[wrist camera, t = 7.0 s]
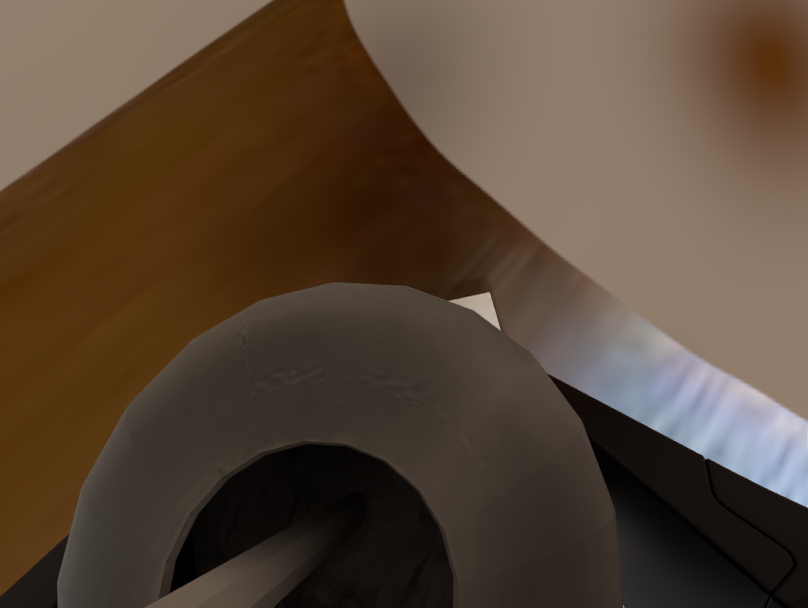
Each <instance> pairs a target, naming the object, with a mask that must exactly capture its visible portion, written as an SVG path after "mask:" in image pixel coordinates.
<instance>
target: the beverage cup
mask: <svg viewBox="0 0 808 608" xmlns="http://www.w3.org/2000/svg"><path fill="white" fill-rule="evenodd" d="M57 594H58V608H623V602H622V589H621V577H620V565H619V552H618V540H617V527H616V515H615V508H614V506H613V503H612V500H611V498H610V495H609V492H608V489H607V487H606V484H605V481H604V479H603V476H602V473H601V471H600V468H599V465H598V463H597V460H596V457H595V455H594V452H593V449H592V447H591V444H590V441H589V439H588V436H587V433H586V431H585V428H584V425H583V423H582V421H581V419H580V418H579V416H578V415H577V414H576V412H575V411H574V410H573V408H572V407H571V405H570V404H569V403H568V401H567V400H566V399H565V397H564V396H563V395H562V393H561V392H560V391H559V389H558V388H557V387H556V385H555V384H554V383H553V381H552V380H551V379H550V377H549V376H548V374H547V373H546V372H545V370H544V369H543V368H542V366H541V365H540V364H539V362H538V361H537V360H536V358H535V357H534V356H533V355H532V354H531V353H530V352H528V351H527V350H526V349H524V348H523V347H522V346H520V345H519V344H518V343H516V342H515V341H514V340H512V339H511V338H510V337H508V336H507V335H506V334H504V333H503V332H502V331H501V330H499V329H498V328H497V327H495V326H494V325H493V324H491V323H490V322H489V321H487V320H486V319H485V318H483V317H482V316H481V315H479V314H478V313H477V312H475V311H474V310H472V309H469V308H466V307H463V306H461V305H458V304H455V303H452V302H450V301H447V300H444V299H441V298H439V297H436V296H433V295H430V294H428V293H425V292H422V291H419V290H417V289H414V288H411V287H408V286H399V285H380V284H360V283H341V282H334V283H328V284H324V285H320V286H316V287H312V288H308V289H304V290H300V291H296V292H291V293H287V294H283V295H279V296H275V297H271V298H267V299H263V300H260V301H258V302H256V303H254V304H253V305H251V306H249V307H247V308H246V309H244V310H242V311H240V312H239V313H237V314H235V315H234V316H232V317H230V318H228V319H227V320H225V321H223V322H221V323H220V324H218V325H216V326H215V327H213V328H211V329H209V330H208V331H206V332H204V333H202V334H201V335H199V336H197V337H196V338H194V339H192V340H191V341H190V342H189V344H188V345H187V346H186V347H185V348H184V349H183V350H182V351H181V352H180V353H179V354H178V355H177V356H176V357H175V358H174V359H173V360H172V361H171V362H170V363H169V364H168V365H167V366H166V367H165V368H164V369H163V370H162V371H161V372H160V373H159V374H158V375H157V376H156V377H155V378H154V379H153V380H152V381H151V382H150V383H149V384H148V385H147V386H146V387H145V388H144V389H143V390H142V391H141V392H140V393H139V394H138V395H137V396H136V398H135V399H134V400H133V401H132V402H131V403H130V404H129V405H128V406H127V408H126V410H125V411H124V413H123V415H122V417H121V418H120V420H119V422H118V424H117V425H116V427H115V429H114V431H113V433H112V434H111V436H110V438H109V440H108V441H107V443H106V445H105V447H104V448H103V450H102V452H101V454H100V456H99V457H98V459H97V461H96V463H95V464H94V466H93V468H92V470H91V471H90V473H89V475H88V477H87V479H86V480H85V482H84V484H83V486H82V488H81V492H80V496H79V500H78V504H77V508H76V511H75V515H74V519H73V523H72V527H71V531H70V534H69V538H68V542H67V546H66V550H65V554H64V558H63V561H62V565H61V569H60V573H59V577H58V581H57Z"/></svg>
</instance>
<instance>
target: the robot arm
mask: <svg viewBox="0 0 808 608" xmlns="http://www.w3.org/2000/svg"><path fill="white" fill-rule="evenodd" d="M548 376H549V377H550V379H551V380H552V381H553V383H554V384H555V385H556V387H557V388H558V389H559V391H560V392H561V393H562V395H563V396H564V397H565V399H566V400H567V401H568V403H569V404H570V405H571V407H572V408H573V410H574V411H575V412H576V414H577V415H578V416H579V418H580V419H581V421H582V423H583V425H584V428H585V431H586V433H587V436H588V439H589V441H590V444H591V447H592V449H593V452H594V455H595V457H596V460H597V463H598V465H599V468H600V471H601V473H602V476H603V479H604V481H605V484H606V487H607V489H608V492H609V495H610V498H611V500H612V503H613V506H614V508H615V515H616V527H617V540H618V552H619V565H620V577H621V589H622V602H623V605H624V607H625V608H808V508H807V507H805V506H803V505H800V504H798V503H796V502H794V501H792V500H790V499H788V498H786V497H783V496H781V495H779V494H777V493H775V492H773V491H771V490H768V489H766V488H764V487H762V486H760V485H758V484H756V483H754V482H752V481H751V480H749V479H747V478H745V477H743V476H741V475H739V474H737V473H735V472H733V471H731V470H729V469H727V468H725V467H723V466H721V465H719V464H718V463H716V462H714V461H712V460H710V459H706V460H705V458H704V457H703V456H702V455H700V454H698V453H697V452H695V451H693V450H691V449H689V448H687V447H685V446H683V445H681V444H680V443H678V442H676V441H674V440H672V439H670V438H668V437H666V436H664V435H663V434H661V433H659V432H657V431H655V430H653V429H651V428H649V427H647V426H646V425H644V424H642V423H640V422H638V421H636V420H634V419H632V418H630V417H629V416H627V415H625V414H623V413H621V412H619V411H617V410H615V409H613V408H612V407H610V406H608V405H606V404H604V403H602V402H600V401H598V400H596V399H595V398H593V397H591V396H589V395H587V394H585V393H583V392H581V391H579V390H578V389H576V388H574V387H572V386H570V385H568V384H566V383H564V382H562V381H561V380H559V379H557V378H555V377H553V376H551V375H549V374H548ZM69 534H70V533H69ZM69 534H68V535H67V536H66V537H65V538H64V539H63V540H62V541H61V542H60V543H58V544H57V545H56V546H55V547H54V548H53V549H52V550H51V551H50V552H49V553H48V554H46V555H45V556H44V557H43V558H42V559H41V560H40V561H39V562H38V563H37V564H35V565H34V566H33V567H32V568H31V569H30V570H29V571H28V572H27V573H26V574H25V575H23V576H22V577H21V578H20V579H19V580H18V581H17V582H16V583H15V584H14V585H12V586H11V587H10V588H9V589H8V590H7V591H6V592H5V593H4V594H3V595H1V596H0V608H58V594H57V581H58V577H59V573H60V569H61V565H62V561H63V558H64V554H65V550H66V546H67V542H68V538H69Z"/></svg>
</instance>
